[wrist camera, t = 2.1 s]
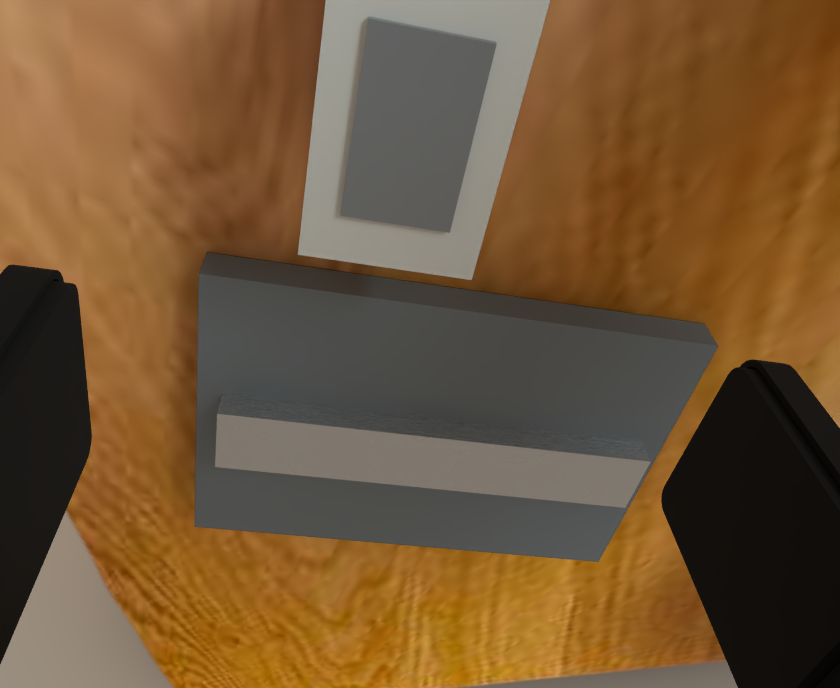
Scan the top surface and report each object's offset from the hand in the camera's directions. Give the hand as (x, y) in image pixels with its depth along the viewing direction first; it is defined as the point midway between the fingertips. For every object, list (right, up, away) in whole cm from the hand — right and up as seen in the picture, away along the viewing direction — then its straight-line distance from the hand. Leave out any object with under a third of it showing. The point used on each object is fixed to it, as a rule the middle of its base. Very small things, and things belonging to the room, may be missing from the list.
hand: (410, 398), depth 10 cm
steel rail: (+1, -4, +21) cm, 21 cm away
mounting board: (+1, -3, +22) cm, 22 cm away
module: (0, +10, +12) cm, 16 cm away
